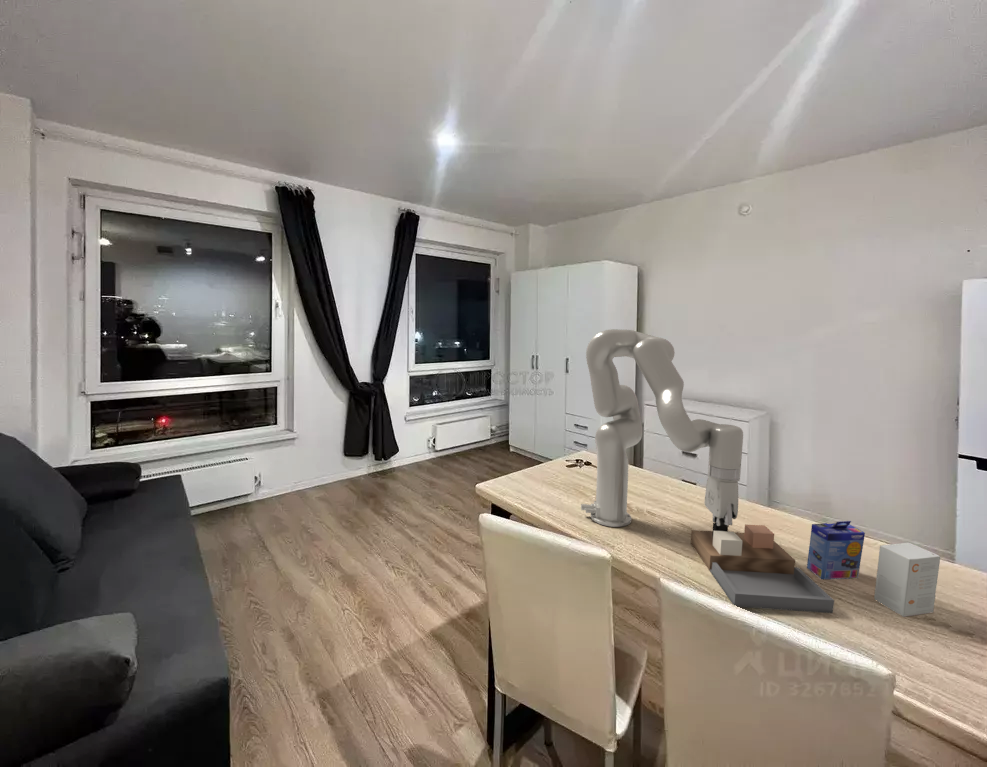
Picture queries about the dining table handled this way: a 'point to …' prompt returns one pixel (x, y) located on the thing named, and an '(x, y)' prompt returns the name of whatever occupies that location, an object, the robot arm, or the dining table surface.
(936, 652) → the dining table surface
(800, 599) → the tray
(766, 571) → the bench plate
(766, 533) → the terracotta block
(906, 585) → the small box
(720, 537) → the cream block
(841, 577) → the ink cartridge box
